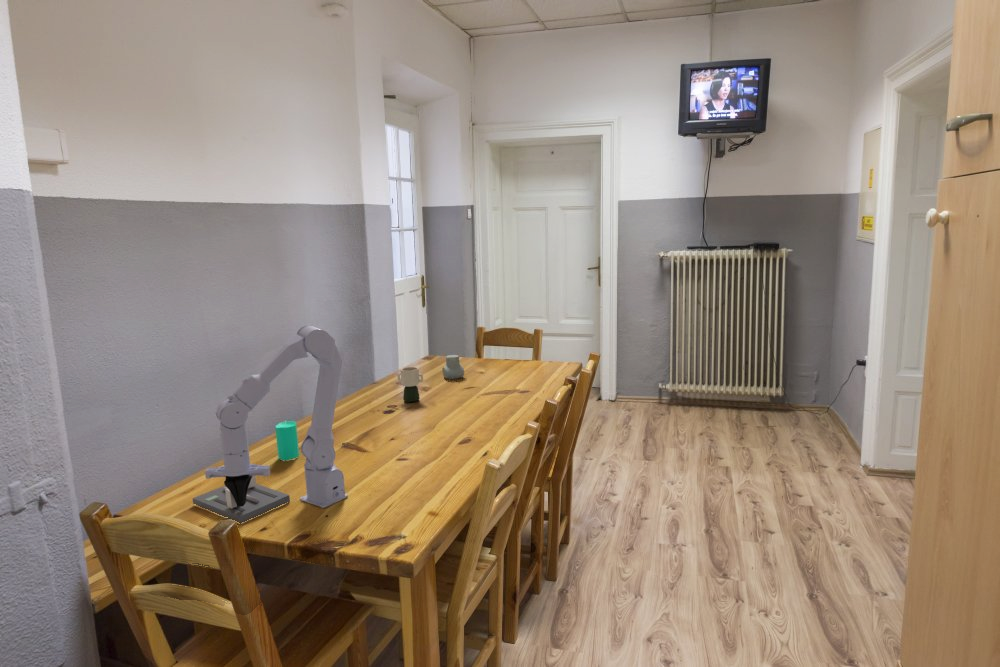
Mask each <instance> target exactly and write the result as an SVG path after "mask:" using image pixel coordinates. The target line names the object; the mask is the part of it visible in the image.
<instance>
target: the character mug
mask: <svg viewBox="0 0 1000 667" xmlns="http://www.w3.org/2000/svg"><path fill="white" fill-rule="evenodd" d="M396 376H397V381H398V382H401V386H403V387H404V389H403V401H404V402H406V403H411V402H412V403H413V402H417V401H419V400H420V392H419V387H418V386H419V384H420V383H422V382H424V374H423V373H420V368H419V367H417V366H406V367H402V368H401V369H400V372H398V373H397V375H396Z"/></svg>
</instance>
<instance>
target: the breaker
mask: <svg viewBox="0 0 1000 667" xmlns="http://www.w3.org/2000/svg"><path fill="white" fill-rule="evenodd" d="M256 484H257V482H256V476H252V478H251V481H250V484H249V487H248V488H251V487H253V486H256Z"/></svg>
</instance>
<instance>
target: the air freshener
mask: <svg viewBox="0 0 1000 667" xmlns="http://www.w3.org/2000/svg"><path fill="white" fill-rule="evenodd" d="M445 364H446V365H444V366H443V367H442V369H441V371H442V376H443V378H444V379H447V380H457V378H459V379H460V378H463V377H464V375H465V369H464V366H463V365H461V364H460V355H459V354H458V355H457V354H448V355H446V356H445Z"/></svg>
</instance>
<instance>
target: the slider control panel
mask: <svg viewBox="0 0 1000 667" xmlns="http://www.w3.org/2000/svg"><path fill="white" fill-rule="evenodd" d="M225 489H227V487H226V486H225V485H223V486H221V487H218V488H214V489H213V490H210V491H207V492H205V493H202V494H200V495H198V496H197V495H196V496H195V497H193V498H192V505H193V504H196V505H198V506H200V507H202V508H205V509H208V510H210V511H212V512H215V513H217V514H219V515H222V516H224V517H228V518H224V519H225V520H227V519H232V520H235V521H237V522H239V523H240V524H241V523H242V522H245V521H247V520H249V519H251V518H254V517H256V516H258V515H261V514H263V513H265V512H267V511H269V510H271V509H273V508H276V507H278V506H280V505H282V504H285V503H287V502H290V503H291V499H290V494H287V493H285V492H281V491H279V490H276V489H273V488H270V487H268V486H267V487H266V486H264V485H262V484H258V483H256V486H253V487H251V488H248V490H247V495H246V503H245V505H244V506H241V507H234V508H230V507H227V501H226V492H225ZM263 515H264V514H263ZM261 516H262V515H261ZM254 519H255V518H254ZM245 523H246V522H245ZM241 525H242V524H241Z"/></svg>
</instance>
